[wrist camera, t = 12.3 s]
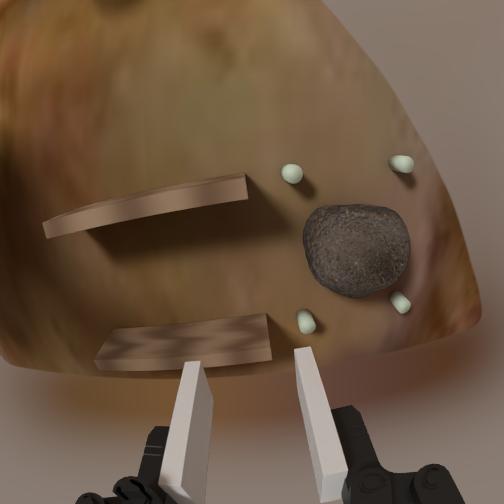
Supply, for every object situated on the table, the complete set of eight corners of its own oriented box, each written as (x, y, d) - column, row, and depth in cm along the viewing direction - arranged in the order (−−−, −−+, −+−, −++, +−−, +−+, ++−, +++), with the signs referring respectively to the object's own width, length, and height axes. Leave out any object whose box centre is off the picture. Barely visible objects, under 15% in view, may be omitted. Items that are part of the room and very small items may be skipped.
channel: (117, 339, 32) (99, 370, 26) (74, 208, 27) (42, 222, 21) (267, 324, 31) (272, 359, 26) (244, 172, 26) (245, 178, 20)
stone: (300, 265, 33) (364, 326, 28) (274, 241, 26) (358, 320, 21) (356, 202, 33) (423, 255, 28) (345, 162, 25) (435, 225, 20)
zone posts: (296, 322, 31) (300, 335, 29) (279, 164, 26) (282, 165, 24) (400, 301, 31) (409, 311, 29) (401, 154, 26) (413, 155, 23)
